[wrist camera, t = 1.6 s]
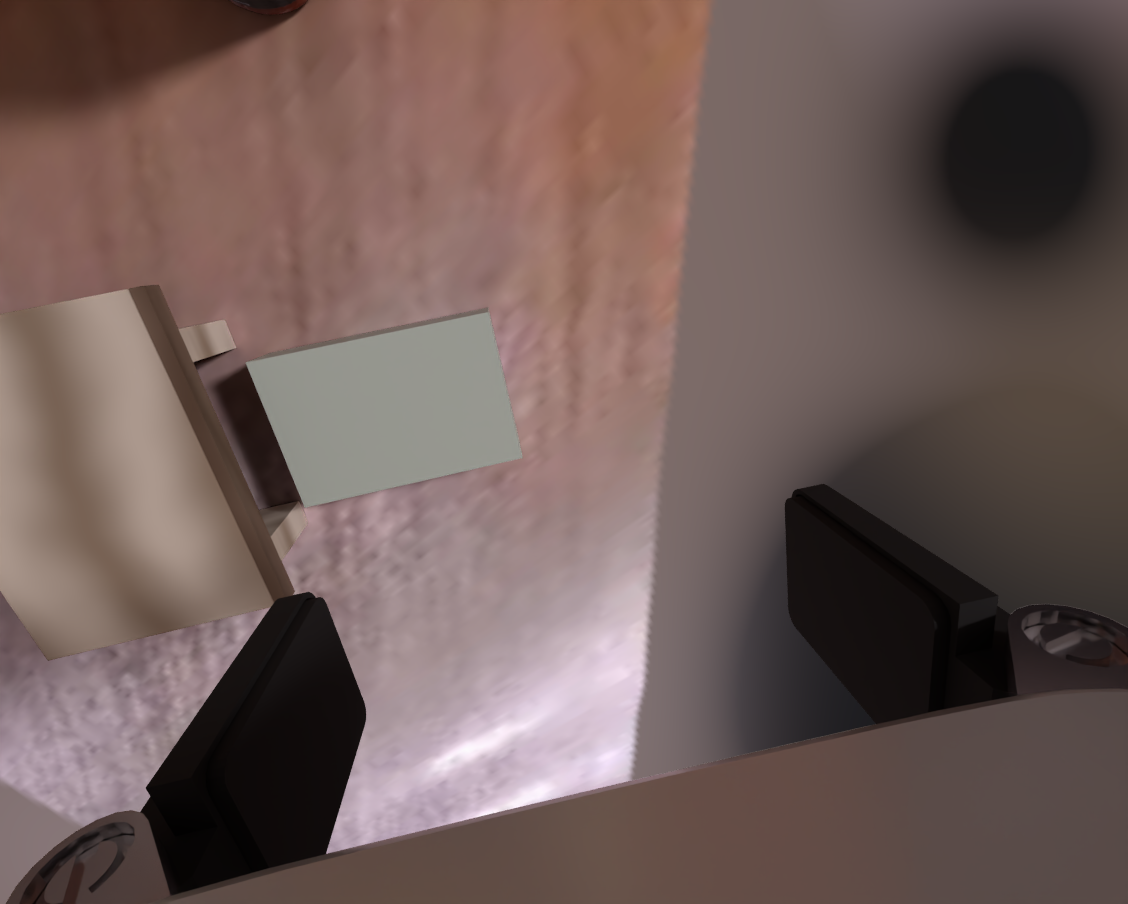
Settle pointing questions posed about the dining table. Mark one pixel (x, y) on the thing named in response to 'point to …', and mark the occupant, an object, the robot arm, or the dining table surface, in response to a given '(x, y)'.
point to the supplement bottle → (269, 5)
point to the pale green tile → (389, 406)
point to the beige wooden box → (124, 479)
